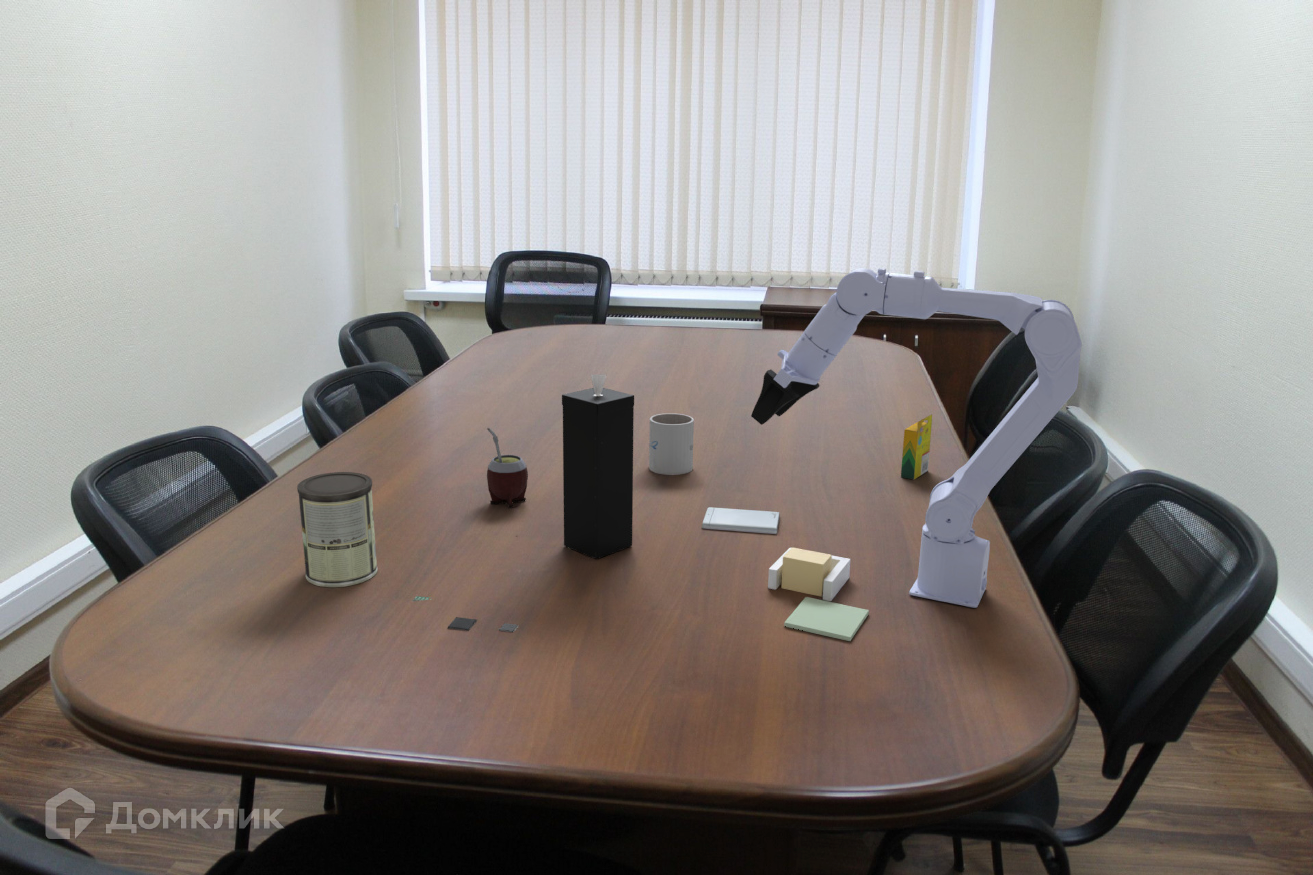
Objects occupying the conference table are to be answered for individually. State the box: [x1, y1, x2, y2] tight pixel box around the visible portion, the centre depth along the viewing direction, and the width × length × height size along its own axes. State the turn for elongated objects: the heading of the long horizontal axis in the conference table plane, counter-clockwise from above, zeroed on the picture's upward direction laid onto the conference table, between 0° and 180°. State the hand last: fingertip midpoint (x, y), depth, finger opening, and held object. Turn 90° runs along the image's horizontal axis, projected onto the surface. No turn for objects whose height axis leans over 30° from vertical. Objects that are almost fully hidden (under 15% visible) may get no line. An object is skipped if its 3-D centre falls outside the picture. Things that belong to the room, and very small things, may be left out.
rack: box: [767, 547, 852, 602], centre depth 150 cm, size 9×9×3 cm
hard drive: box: [701, 506, 781, 535], centre depth 174 cm, size 2×8×12 cm
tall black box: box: [561, 374, 635, 559], centre depth 159 cm, size 8×8×28 cm
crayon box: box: [900, 414, 933, 480], centre depth 199 cm, size 7×3×12 cm, turn 144°
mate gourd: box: [486, 427, 529, 509], centre depth 179 cm, size 8×8×15 cm
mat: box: [783, 596, 870, 642], centre depth 139 cm, size 9×9×1 cm
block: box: [780, 546, 833, 597], centre depth 148 cm, size 6×4×5 cm, turn 64°
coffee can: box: [296, 471, 379, 588], centre depth 149 cm, size 10×10×14 cm
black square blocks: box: [411, 595, 519, 633], centre depth 136 cm, size 14×20×1 cm
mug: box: [648, 412, 695, 476], centre depth 203 cm, size 12×9×10 cm
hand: (765, 416), depth 150 cm, fingers open, 7 cm apart
